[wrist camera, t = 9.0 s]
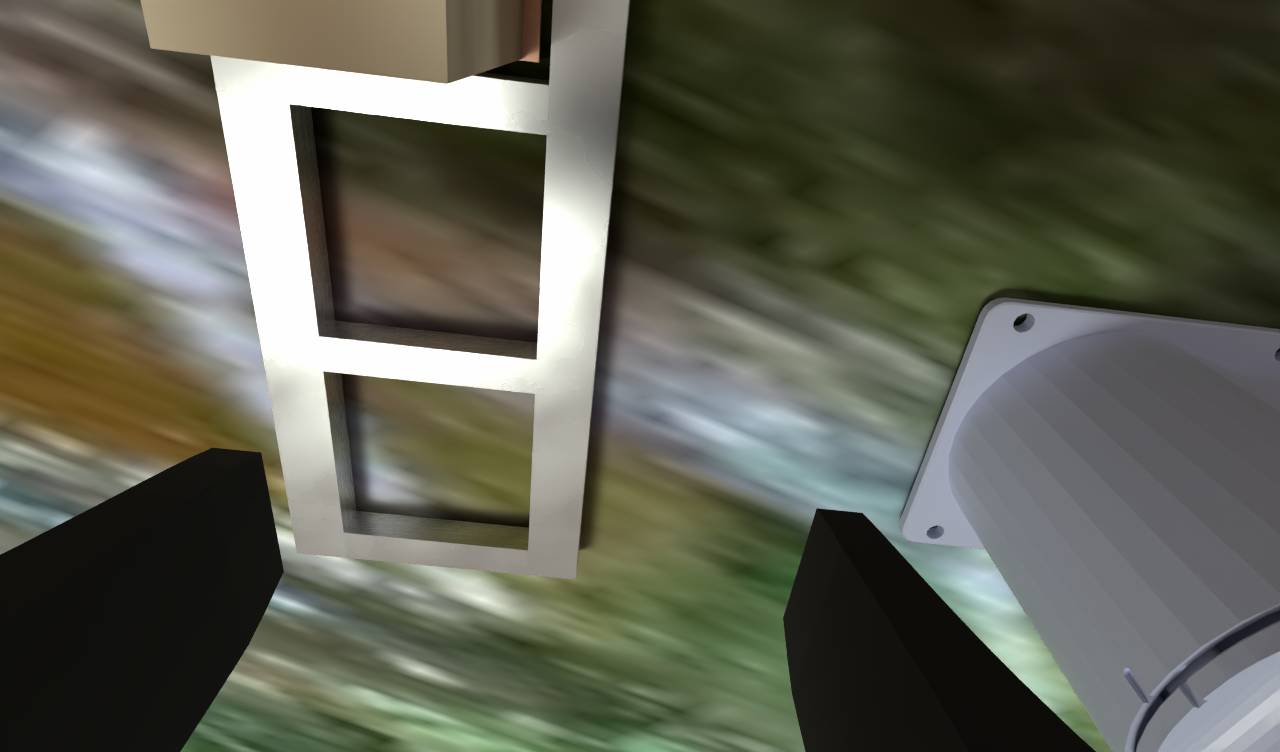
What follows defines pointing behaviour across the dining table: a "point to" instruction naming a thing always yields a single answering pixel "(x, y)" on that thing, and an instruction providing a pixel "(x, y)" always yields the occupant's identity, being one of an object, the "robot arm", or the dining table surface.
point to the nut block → (347, 34)
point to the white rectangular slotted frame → (324, 348)
